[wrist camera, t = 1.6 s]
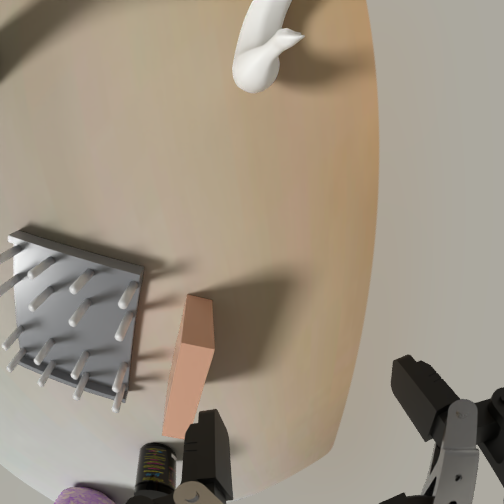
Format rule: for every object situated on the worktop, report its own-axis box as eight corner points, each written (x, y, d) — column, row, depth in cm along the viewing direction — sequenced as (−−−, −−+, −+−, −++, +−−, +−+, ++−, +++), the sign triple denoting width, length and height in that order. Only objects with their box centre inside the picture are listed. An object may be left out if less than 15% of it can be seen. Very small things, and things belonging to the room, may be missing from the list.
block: (189, 385, 38) (187, 439, 28) (168, 381, 37) (162, 435, 28) (212, 299, 34) (214, 349, 25) (187, 294, 34) (181, 342, 24)
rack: (24, 355, 33) (7, 377, 27) (18, 230, 28) (-9, 243, 22) (128, 391, 37) (120, 420, 31) (144, 267, 32) (132, 288, 26)
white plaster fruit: (298, -15, 24) (342, -82, 10) (265, 114, 29) (309, 77, 15) (259, -25, 23) (287, -99, 9) (220, 103, 28) (229, 55, 14)
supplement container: (133, 443, 40) (125, 490, 30) (166, 439, 41) (163, 488, 31) (151, 462, 42) (147, 506, 33) (183, 458, 43) (183, 504, 33)
